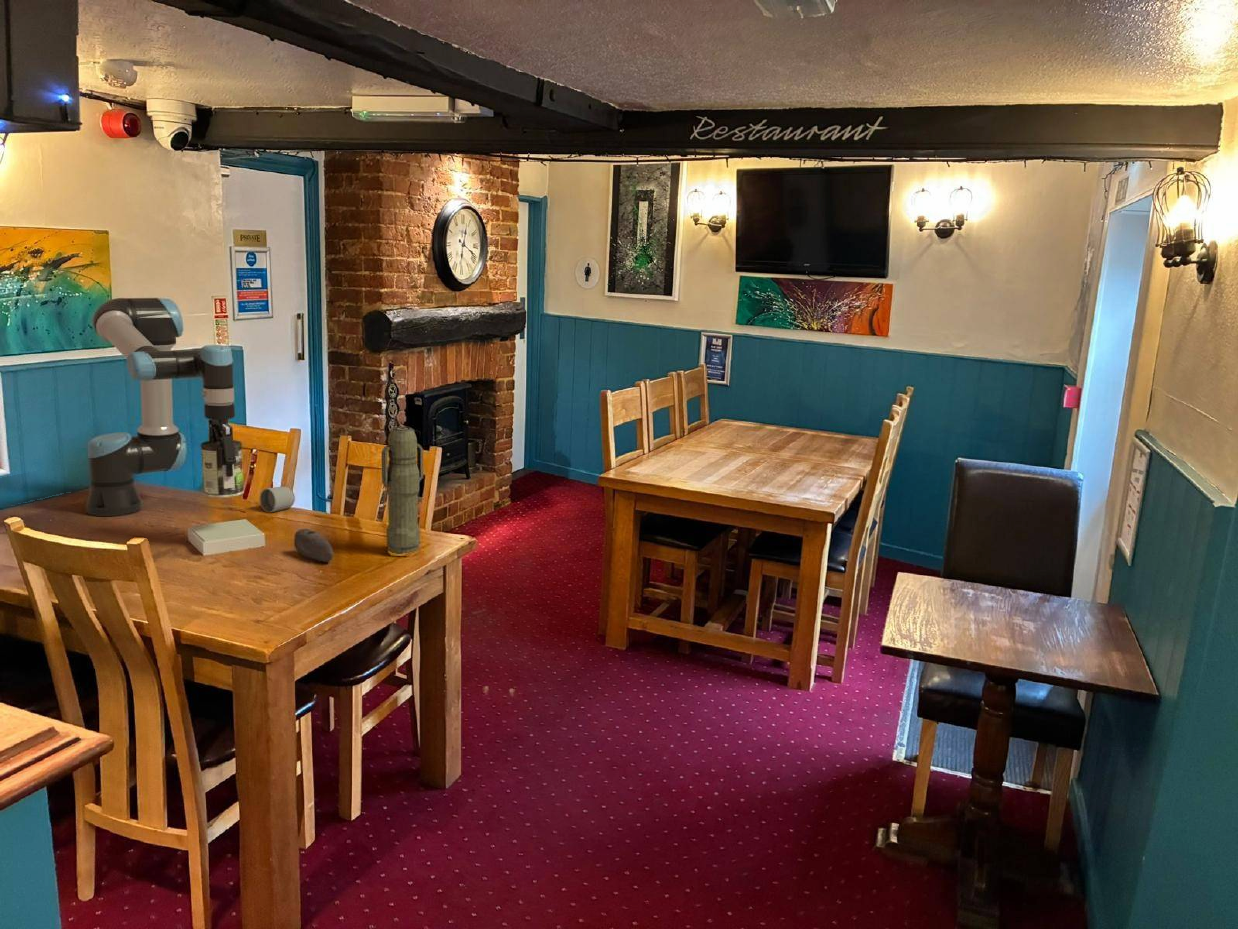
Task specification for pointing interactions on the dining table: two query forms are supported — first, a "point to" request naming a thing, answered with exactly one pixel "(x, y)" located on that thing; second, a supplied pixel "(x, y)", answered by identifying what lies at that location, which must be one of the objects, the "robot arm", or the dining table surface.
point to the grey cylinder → (276, 499)
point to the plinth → (225, 537)
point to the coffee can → (220, 470)
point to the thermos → (402, 489)
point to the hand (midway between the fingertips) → (223, 483)
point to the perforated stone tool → (313, 545)
